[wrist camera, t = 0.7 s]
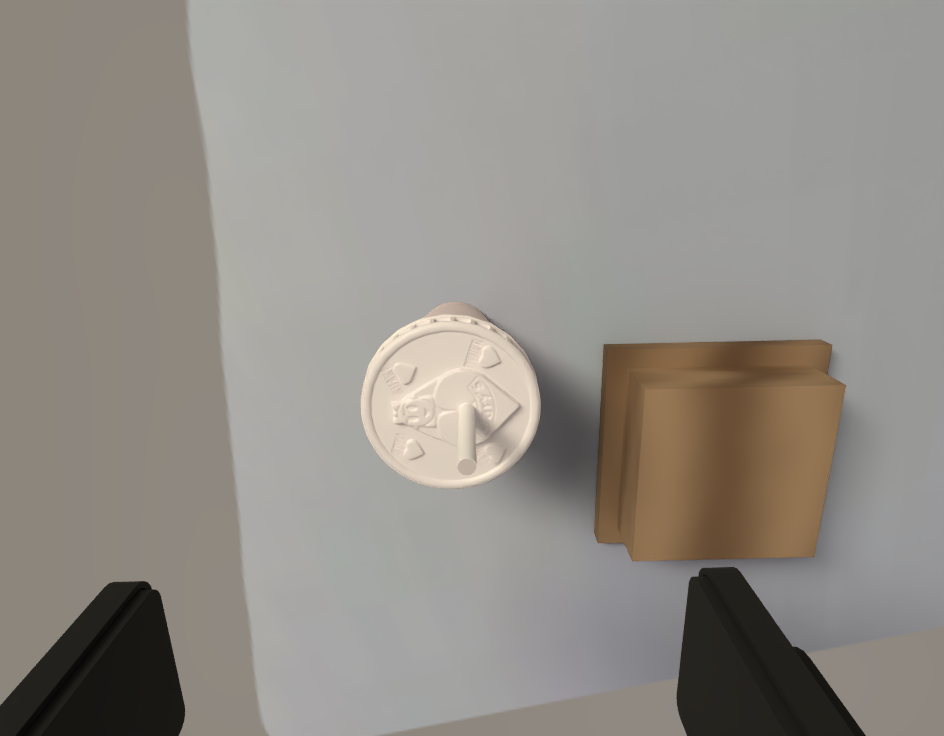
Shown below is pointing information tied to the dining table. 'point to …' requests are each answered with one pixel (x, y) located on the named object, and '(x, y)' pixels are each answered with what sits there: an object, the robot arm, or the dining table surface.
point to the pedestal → (715, 448)
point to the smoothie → (450, 399)
